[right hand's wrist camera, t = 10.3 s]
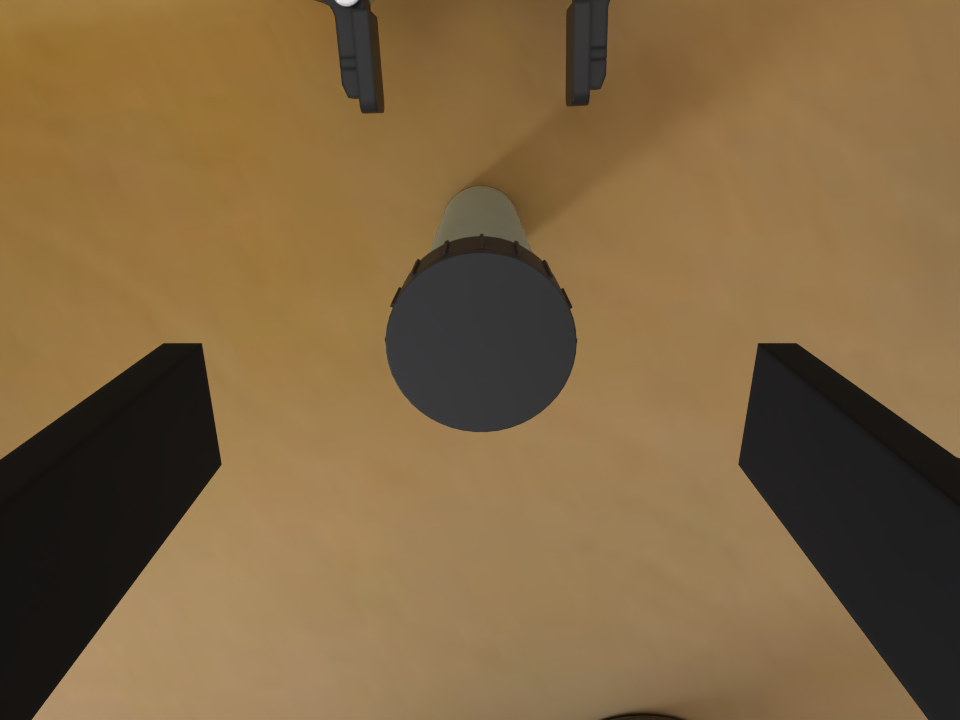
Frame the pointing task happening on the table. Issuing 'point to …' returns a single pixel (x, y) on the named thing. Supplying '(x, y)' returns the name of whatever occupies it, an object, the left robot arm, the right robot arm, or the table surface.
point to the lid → (481, 335)
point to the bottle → (480, 217)
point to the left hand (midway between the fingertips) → (475, 109)
